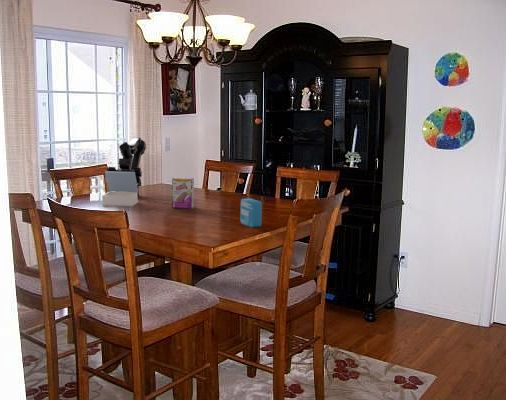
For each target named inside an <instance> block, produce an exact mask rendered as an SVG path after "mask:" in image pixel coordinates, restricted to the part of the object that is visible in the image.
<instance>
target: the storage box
mask: <svg viewBox="0 0 506 400" xmlns="http://www.w3.org/2000/svg"><path fill="white" fill-rule="evenodd" d="M101 198H102V199H101V200H102V202H101V203H102V207H119V208H120V207H122V208H123V207H125V208H127V207H128V208H132V207H134V206H135V205H136V204H137V203H138V201H139V200H138V196H137V192H116V191H109V190H108V191H107V192H105V193H104V194H102V195H101Z"/></svg>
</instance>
